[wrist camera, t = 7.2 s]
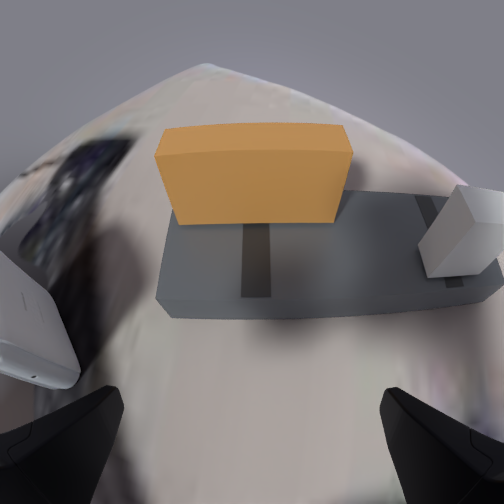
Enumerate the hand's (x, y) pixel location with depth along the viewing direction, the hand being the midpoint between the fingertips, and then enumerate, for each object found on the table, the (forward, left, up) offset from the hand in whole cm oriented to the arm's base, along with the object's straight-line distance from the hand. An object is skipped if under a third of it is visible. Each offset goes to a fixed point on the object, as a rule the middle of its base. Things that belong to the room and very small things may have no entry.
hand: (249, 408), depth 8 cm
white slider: (+7, -17, -8) cm, 21 cm away
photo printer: (+7, +18, -13) cm, 23 cm away
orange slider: (+15, -3, -8) cm, 17 cm away
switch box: (+11, -10, -12) cm, 19 cm away
